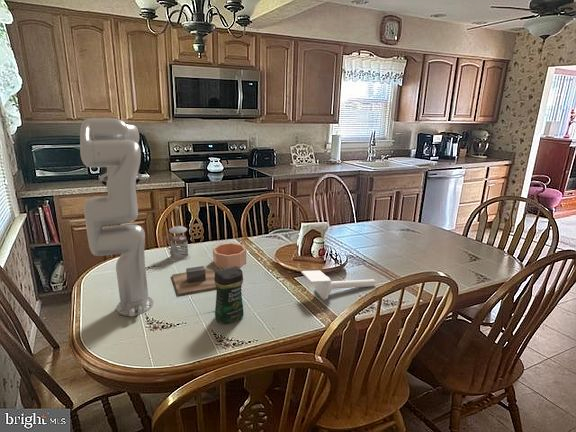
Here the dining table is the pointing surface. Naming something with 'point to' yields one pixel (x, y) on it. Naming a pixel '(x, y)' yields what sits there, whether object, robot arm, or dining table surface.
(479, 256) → the dining table surface
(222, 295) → the coffee jar
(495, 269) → the dining table surface
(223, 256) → the bowl
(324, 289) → the white mallet
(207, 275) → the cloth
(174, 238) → the lantern
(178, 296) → the mat
